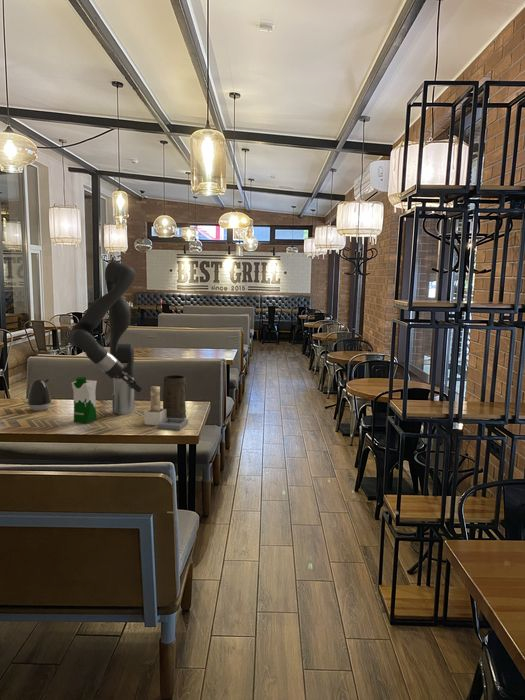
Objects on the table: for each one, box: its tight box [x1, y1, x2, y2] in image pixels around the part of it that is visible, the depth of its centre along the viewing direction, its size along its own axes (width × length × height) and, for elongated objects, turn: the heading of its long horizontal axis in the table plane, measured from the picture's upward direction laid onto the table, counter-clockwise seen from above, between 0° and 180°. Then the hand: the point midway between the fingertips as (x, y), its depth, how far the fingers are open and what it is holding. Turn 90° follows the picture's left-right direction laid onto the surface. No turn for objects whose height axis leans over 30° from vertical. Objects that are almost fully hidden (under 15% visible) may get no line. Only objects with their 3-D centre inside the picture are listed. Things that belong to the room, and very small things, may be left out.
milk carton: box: [71, 376, 98, 424], centre depth 214 cm, size 9×9×20 cm
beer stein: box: [162, 374, 187, 419], centre depth 223 cm, size 15×11×20 cm
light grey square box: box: [143, 407, 166, 426], centre depth 213 cm, size 7×7×6 cm
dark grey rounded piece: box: [27, 378, 52, 412], centre depth 231 cm, size 10×10×15 cm
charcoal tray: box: [157, 418, 189, 431], centre depth 209 cm, size 10×10×2 cm
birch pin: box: [150, 385, 161, 413], centre depth 212 cm, size 4×4×16 cm
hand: (136, 388), depth 207 cm, fingers open, 8 cm apart
